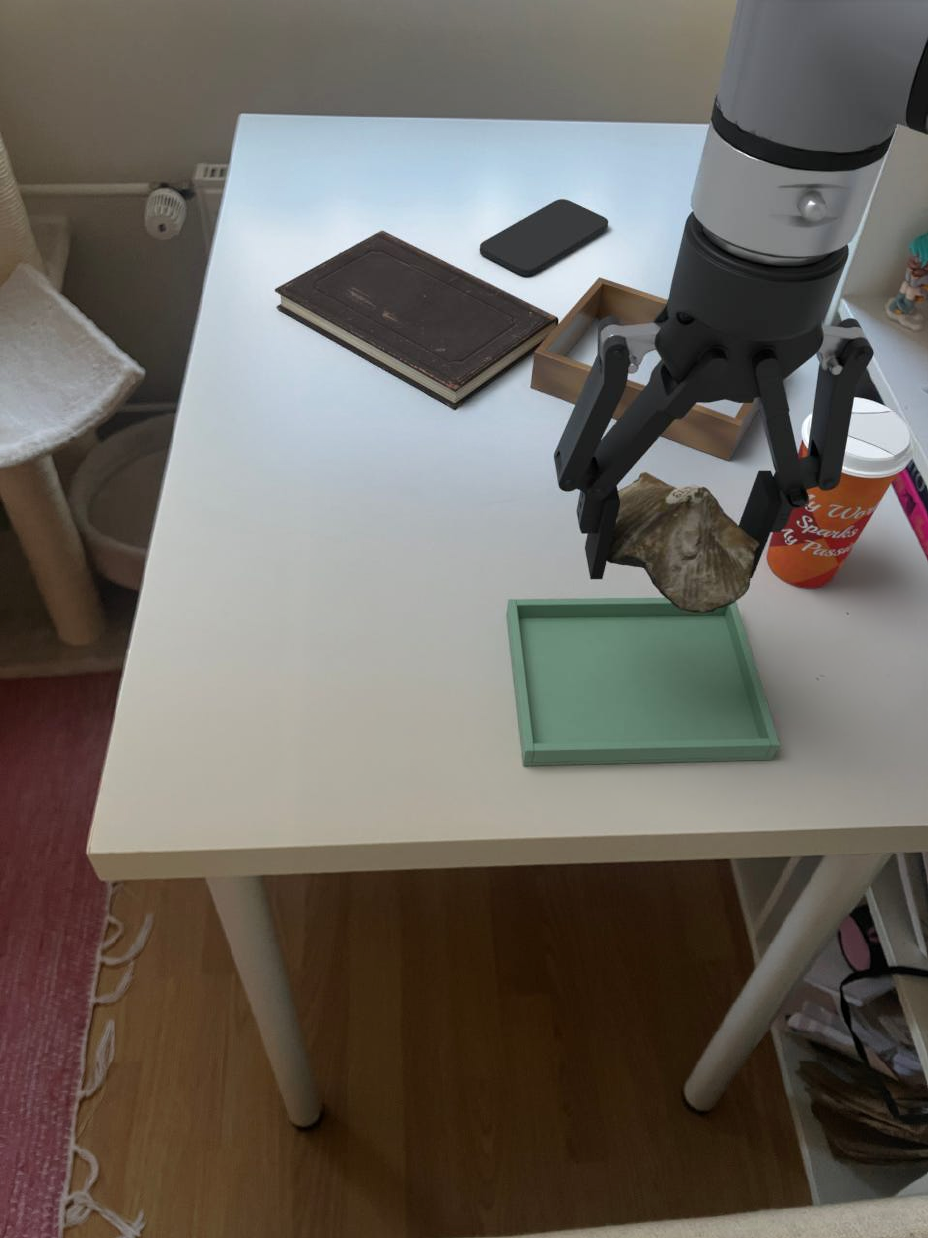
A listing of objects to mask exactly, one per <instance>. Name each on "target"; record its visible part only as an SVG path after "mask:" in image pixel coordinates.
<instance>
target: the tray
mask: <svg viewBox="0 0 928 1238" xmlns="http://www.w3.org/2000/svg"><path fill="white" fill-rule="evenodd" d="M505 616H506V627H507V633H508V643H509V645H508V646H509V652H510V653H509V654H510V662H511V671H512V679H513V680H512V681H513V690H514V696H515V698H514V699H515V707H516V717H517V724H518V734H519V735H518V736H519V743H520V752H521V762H522V763H521V764H522V767H530V766H531V767H532V766H534V767H535V766H537V767H538V766H567V765H568V766H573V765H576V766H577V765H607V764H608V765H612V764H613V765H615V764H616V765H617V764H656V763H657V764H659V763H661V764H662V763H698V762H699V763H701V762H737V761H738V762H739V761H740V762H741V761H772V760H773V759H774V757H775V755H776V753H777V751H778V749H779V748H780V745H781V744H780V741H779V738H778V734H777V731H776V727H775V725H774V722H773V718H772V714H771V712H770V708H769V705H768V701H767V698H766V695H765V691H764V688H763V685H762V681H761V678H760V675H759V672H758V669H757V665H756V662H755V659H754V656H753V652H752V649H751V646H750V643H749V639H748V636H747V632H746V628H745V626H744V623H743V619H742V616H741V613H740V609H739V606H738V603H737V601H735V602H734V603H733V604H731V605H728V606H725V607H723V608H718V609H716V610H714V611H713V612H706V613H697V612H690V611H685V610H680V609H679V608H677V607H676V606H674V605H673V604H672V603H671V602H670V601H669V600H668V599H667V598H665V597H607V598H606V597H605V598H604V597H603V598H602V597H601V598H599V597H598V598H521V599H520V598H517V599H516V598H515V599H508V600H507V607H506V615H505Z"/></svg>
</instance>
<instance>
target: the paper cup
mask: <svg viewBox="0 0 928 1238" xmlns="http://www.w3.org/2000/svg"><path fill="white" fill-rule="evenodd" d="M812 414H813V412H811V413H810V414H809V415H808V416H807V417H806V418H805V419H804V420H803V423H802V425H801V429H800V430H801V431H800V433H801V439H802V440H801V443H800V445H799V448H798V451H797V452H798V456H799V458H803V457H807V452H808V444H809V437H810V429H811V422H812ZM913 446H914V440H913V436H912V434H911V433H910V430H909V427H908V425H907V423H905V421H904V420H903V419H902V418H901V417H900V416H899V415H898V414H897V413H896V412H895V411H894V410H892V409H891V408H889V407H887V406H886V405H884V404H882V403H879V402H877V401H874V400H871V399H867V398H862V397H858V396H857V397H855V396H854V402H853V408H852V414H851V420H850V425H849V431H848V437H847V443H846V449H845V455H844V461H843V467H842V472H841V478H840V483H839V485H838V486H837V487H836V488H834V489H832V490H829V491H823V490H820V488H819V487H815V488H811V489H808V490H806V491H807V493H808V496H809V501H808V503H807V504H806V505H805V506H803V507H801V508H797V509H794V508H793V510H792V513H791V514H790V518H789V519H788V522H787V525H786V527H785V528H784V529H783V530H782V531H781V532H771V537H770V540H769V544H768V548H767V552H766V561H767V565H768V567H769V568H770V570H771V572H772V573H773V574H774V575H775V576H776V577H778V579H780V580H781V581H783V582H785V583H787V584H789V585H791V586H794V587H798V588H801V589H802V588H803V589H817V588H821V587H824V586H826V585H827V584H829V583H831V581H832V580H833V579H834V577H835V576H836V575H837V573H838V572H839V570H840V569H841V567H842V566H843V564H844V563H845V561H846V559H847V558H848V556H849V554H850V553H851V551H852V549H853V548H854V546H855V545H856V543H857V541H858V540H859V538H860V537H861V534H863V531H864V530H865V528H866V526H867V524H868V523H869V521H870V520H871V518H872V516H873V514H874V513H875V511H876V510H877V508H878V507H879V505H880V503H881V501H882V499H883V498H884V497H885V494H886V493H887V492H888V490H889V488H890V486H891V485H892V483H893V481H894V479H895V478H896V476H897V475H898V473H900V472H902V471H903V470H904V469H905V468H907V466H908V465H909V463H910V462H911V461H912V459H913V458H914V454H915V453H914V447H913Z"/></svg>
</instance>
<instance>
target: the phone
mask: <svg viewBox="0 0 928 1238" xmlns="http://www.w3.org/2000/svg"><path fill="white" fill-rule="evenodd" d="M608 226H609V220H608V218H606V217H605V216H603V215H601V214H599V213H598V212H597V213H596V212H594V211H593V210H590V209H589V208H586V207H584V206H582V205H580V204H577V203H576V202H573V201H572V200H568V199H566V198H560V199H556V200H554V201H552V202H550V203H549V204H547V205H545V206H543V207H542V208H540V209H538V210H536V211H535V212H532V213H531V214H529V215H527V216H526V217H523V218H521V219H520V220H518V221H517V222H515V223H513V224H512V225H510V226H508V227H506V228H505V229H503V230H501V231H500V232H497V233H496V234H494V235H492V236H490V237H488V238H487V239H485V240H484V241H482V242H481V243H480V244H479V254H481V255H482V256H484V257H485V258H487V259H489V260H490V261H493V262H495V263H497V264H499V265H500V266H503V267H504V268H506V269H508V270H510V271H512V272H514V273H516V274H518V275H521V276H526V277H528V276H532V275H535V274H536V273H538V272H540V271H542V270H543V269H545V268H546V267H548V266H550V265H552V264H553V263H555V262H556V261H558V260H559V259H561V258H562V257H564V256H566V255H567V254H569V253H570V252H572V251H574V250H576V249H577V248H579V247H580V246H582V245H584V244H585V243H587V242H589V241H590V240H592V239H593V238H595V237H596V236H599V235H600V234H601V233H603V232H604V231H606V230H607V229H608Z"/></svg>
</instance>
